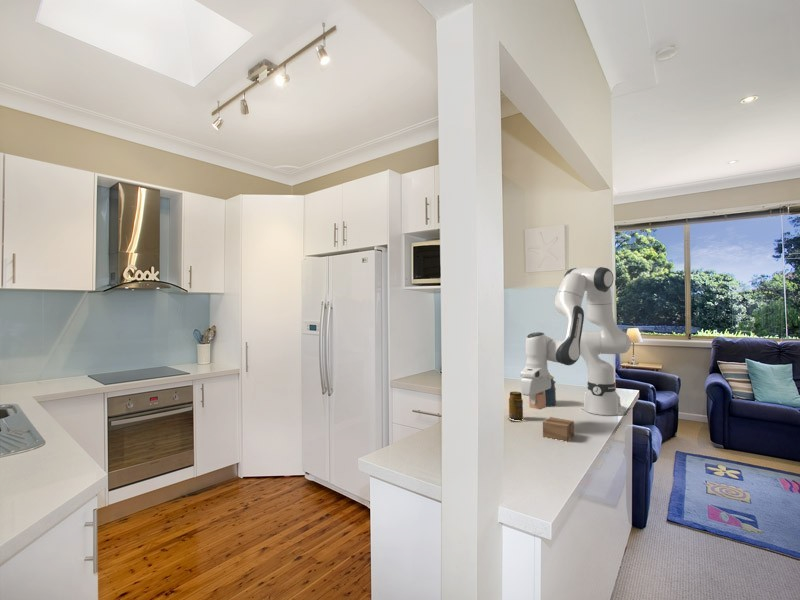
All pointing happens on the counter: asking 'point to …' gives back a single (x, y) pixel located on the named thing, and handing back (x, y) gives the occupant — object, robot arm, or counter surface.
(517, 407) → the condiment
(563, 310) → the robot arm
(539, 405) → the terracotta cube
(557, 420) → the walnut box
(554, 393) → the canister
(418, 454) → the counter surface
